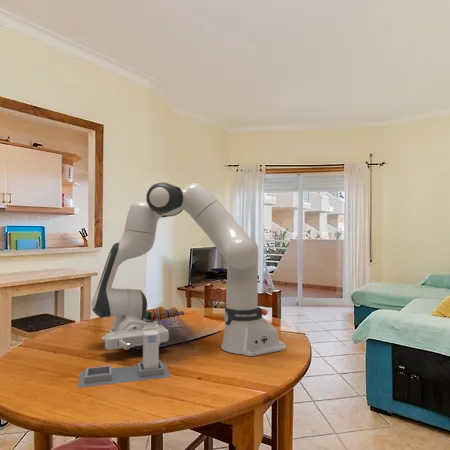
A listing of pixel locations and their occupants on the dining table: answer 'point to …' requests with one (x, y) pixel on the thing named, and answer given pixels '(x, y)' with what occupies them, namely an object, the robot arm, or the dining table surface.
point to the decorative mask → (161, 314)
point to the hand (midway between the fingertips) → (143, 344)
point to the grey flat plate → (120, 375)
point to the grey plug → (150, 350)
